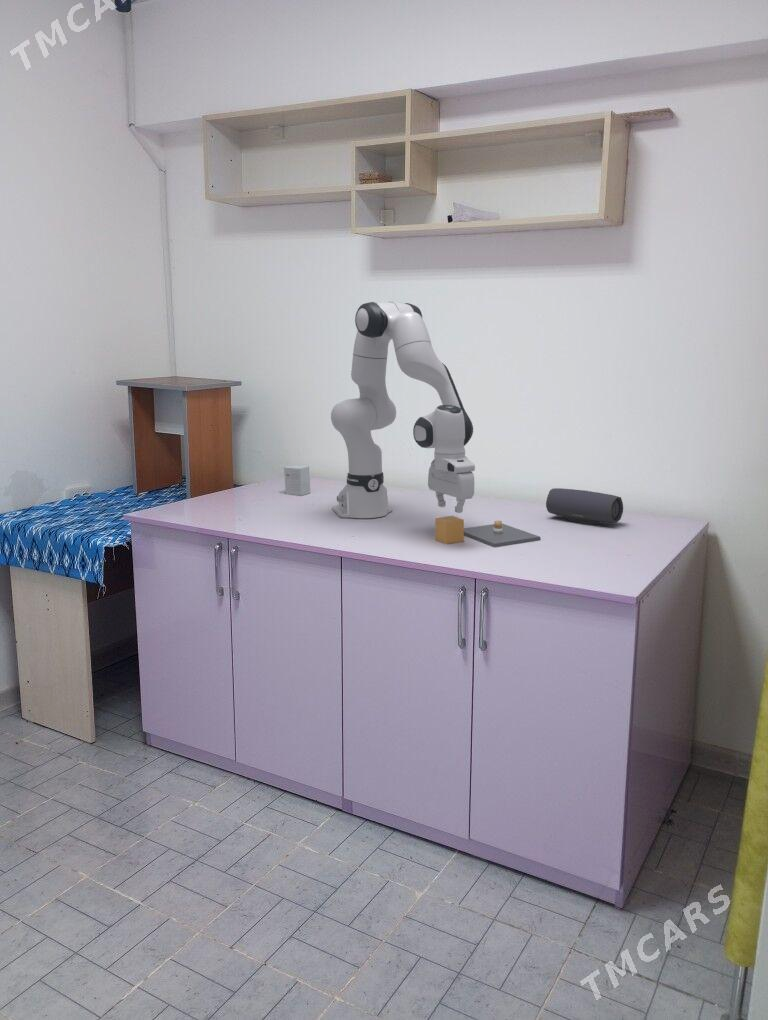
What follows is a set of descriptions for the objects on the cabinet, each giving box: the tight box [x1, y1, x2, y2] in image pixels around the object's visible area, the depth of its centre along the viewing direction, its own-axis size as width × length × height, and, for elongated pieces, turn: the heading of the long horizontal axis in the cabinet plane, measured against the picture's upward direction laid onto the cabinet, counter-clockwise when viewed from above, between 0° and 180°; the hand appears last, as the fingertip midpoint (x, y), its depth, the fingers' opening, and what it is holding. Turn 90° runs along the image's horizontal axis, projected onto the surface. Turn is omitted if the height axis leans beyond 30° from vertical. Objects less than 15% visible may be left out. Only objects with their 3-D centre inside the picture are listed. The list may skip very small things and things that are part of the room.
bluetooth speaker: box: [545, 487, 624, 525], centre depth 263 cm, size 23×9×10 cm, turn 48°
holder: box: [464, 520, 541, 548], centre depth 247 cm, size 20×16×4 cm
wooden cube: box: [434, 515, 465, 545], centre depth 243 cm, size 6×6×6 cm
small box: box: [283, 464, 311, 496], centre depth 315 cm, size 8×6×10 cm
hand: (450, 509), depth 241 cm, fingers open, 8 cm apart
